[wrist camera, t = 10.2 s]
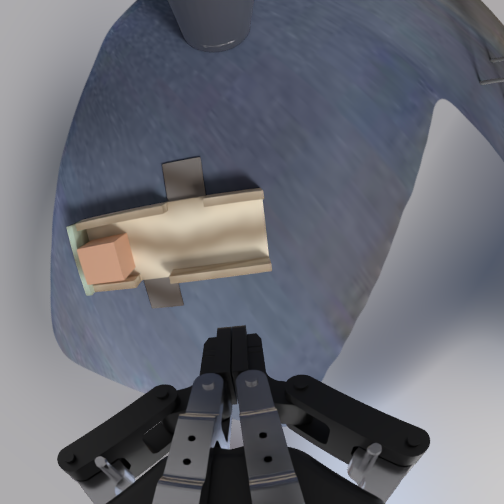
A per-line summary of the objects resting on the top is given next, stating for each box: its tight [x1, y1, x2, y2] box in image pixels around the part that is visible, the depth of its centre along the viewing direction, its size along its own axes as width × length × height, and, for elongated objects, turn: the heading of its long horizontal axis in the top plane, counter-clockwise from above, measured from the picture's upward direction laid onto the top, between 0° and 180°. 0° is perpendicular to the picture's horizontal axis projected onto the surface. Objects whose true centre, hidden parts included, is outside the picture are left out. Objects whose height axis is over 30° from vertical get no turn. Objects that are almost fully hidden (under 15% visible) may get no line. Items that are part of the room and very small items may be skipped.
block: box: [77, 233, 136, 285], centre depth 32 cm, size 5×6×4 cm
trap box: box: [67, 157, 272, 308], centre depth 33 cm, size 20×26×4 cm
